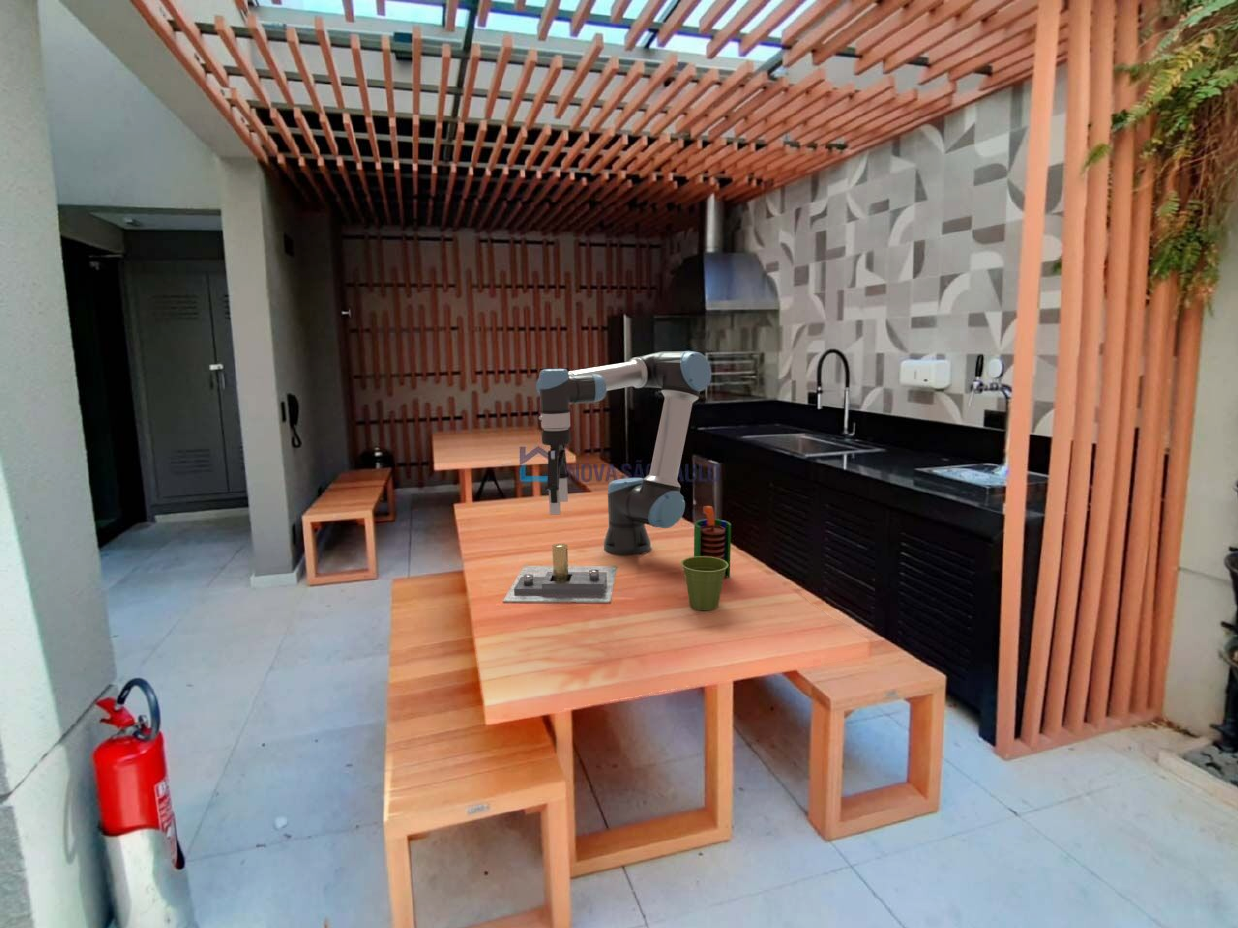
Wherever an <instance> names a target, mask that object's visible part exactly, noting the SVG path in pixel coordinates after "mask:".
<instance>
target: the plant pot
mask: <svg viewBox="0 0 1238 928" xmlns="http://www.w3.org/2000/svg"><path fill="white" fill-rule="evenodd" d="M680 566H681V567H682V568H683V575H684V576H685V577H684V578H685V582H686V590H687V596H688V597H687V598H688V603H689V606H690V608H692V609H694V610H697V611H701V610H703V611H712V610H716V609H717V608H718V606H719V603H720V598H721V593H722V588H723V582H724V580H723V578H724V576H725V577H726V575H725V572H726V569H727V568H728V566H729V564H728V563H727V562H726V561H725V560H723V559H720V558H715V557H709V556H695V557H694V556H691V557H686V558H684V559H683V560H681V562H680Z"/></svg>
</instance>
